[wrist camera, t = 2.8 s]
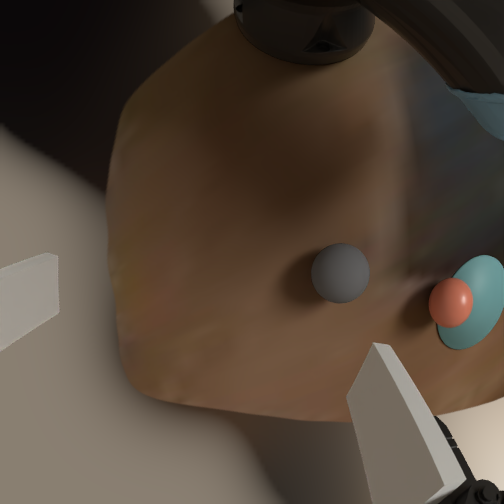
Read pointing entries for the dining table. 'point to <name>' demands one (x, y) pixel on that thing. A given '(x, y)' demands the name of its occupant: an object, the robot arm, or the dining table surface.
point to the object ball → (450, 302)
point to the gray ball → (340, 273)
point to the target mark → (478, 302)
